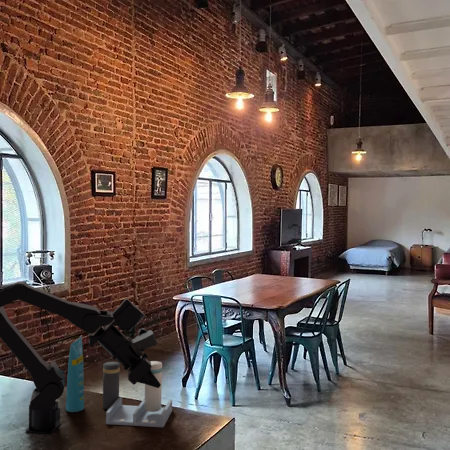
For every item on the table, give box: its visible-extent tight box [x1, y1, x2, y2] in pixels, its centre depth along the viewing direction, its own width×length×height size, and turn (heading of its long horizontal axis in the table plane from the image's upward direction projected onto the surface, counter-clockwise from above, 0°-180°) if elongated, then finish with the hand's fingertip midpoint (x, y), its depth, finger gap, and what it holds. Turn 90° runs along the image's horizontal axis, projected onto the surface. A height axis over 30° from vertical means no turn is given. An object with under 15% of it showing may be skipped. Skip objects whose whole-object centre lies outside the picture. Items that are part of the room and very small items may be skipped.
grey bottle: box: [102, 361, 121, 411], centre depth 139 cm, size 4×4×12 cm
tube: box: [65, 336, 85, 413], centre depth 137 cm, size 7×5×19 cm, turn 2°
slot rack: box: [105, 396, 173, 428], centre depth 132 cm, size 15×11×3 cm
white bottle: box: [144, 360, 163, 412], centre depth 132 cm, size 4×4×12 cm
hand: (158, 383), depth 132 cm, fingers closed on white bottle, 4 cm apart
